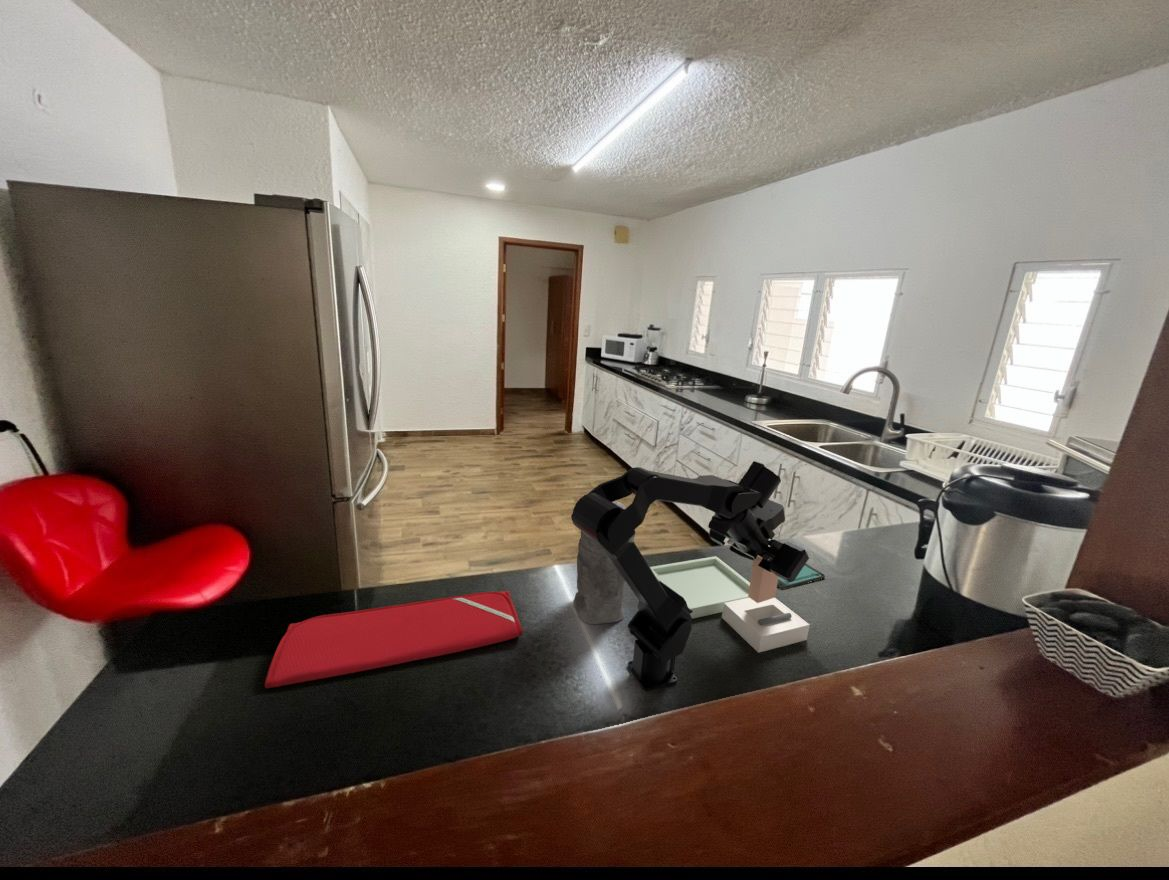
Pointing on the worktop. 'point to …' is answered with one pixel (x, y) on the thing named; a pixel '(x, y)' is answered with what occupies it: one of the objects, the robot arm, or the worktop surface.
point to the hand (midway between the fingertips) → (769, 564)
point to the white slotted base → (765, 623)
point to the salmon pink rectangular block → (762, 583)
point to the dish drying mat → (391, 636)
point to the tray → (703, 584)
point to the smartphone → (802, 577)
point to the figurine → (597, 584)
